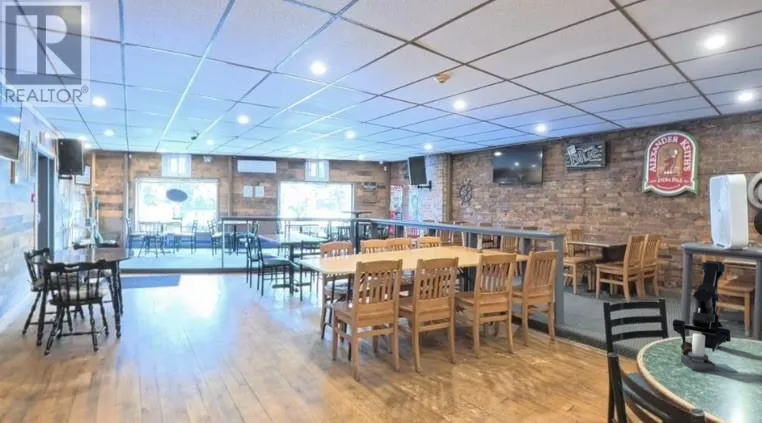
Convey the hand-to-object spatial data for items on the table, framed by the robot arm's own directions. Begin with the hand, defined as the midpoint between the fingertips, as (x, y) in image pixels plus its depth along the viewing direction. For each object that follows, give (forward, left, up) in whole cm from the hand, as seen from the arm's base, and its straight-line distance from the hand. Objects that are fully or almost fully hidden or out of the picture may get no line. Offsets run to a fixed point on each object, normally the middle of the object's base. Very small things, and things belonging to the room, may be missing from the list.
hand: (698, 348), depth 167 cm
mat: (-1, +9, -8) cm, 12 cm away
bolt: (-14, +5, -8) cm, 17 cm away
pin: (-1, 0, -8) cm, 8 cm away
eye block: (-1, 0, -8) cm, 8 cm away
